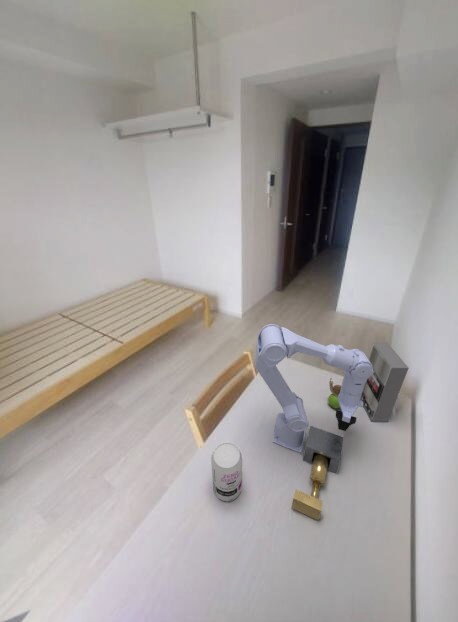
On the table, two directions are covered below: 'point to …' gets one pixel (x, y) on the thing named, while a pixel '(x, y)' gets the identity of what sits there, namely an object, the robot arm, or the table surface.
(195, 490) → the table surface
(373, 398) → the cassette tape recorder
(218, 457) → the supplement can
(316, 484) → the plunger with bar handle
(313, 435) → the bore block
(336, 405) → the snail figurine
